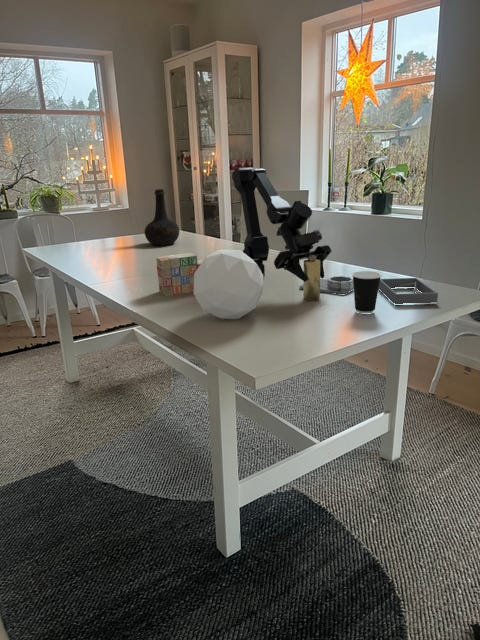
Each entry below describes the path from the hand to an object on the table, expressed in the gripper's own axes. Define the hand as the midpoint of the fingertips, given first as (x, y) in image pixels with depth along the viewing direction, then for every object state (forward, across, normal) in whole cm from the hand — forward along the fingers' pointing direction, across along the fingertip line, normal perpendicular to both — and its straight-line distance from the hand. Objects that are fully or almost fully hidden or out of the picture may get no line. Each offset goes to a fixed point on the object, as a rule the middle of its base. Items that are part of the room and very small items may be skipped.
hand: (314, 279), depth 147 cm
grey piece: (-1, +13, +10) cm, 16 cm away
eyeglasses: (+14, +24, -4) cm, 29 cm away
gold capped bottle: (+4, 0, +6) cm, 7 cm away
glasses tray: (+14, +25, -5) cm, 29 cm away
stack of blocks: (-20, -26, +30) cm, 44 cm away
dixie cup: (+17, +4, -8) cm, 19 cm away
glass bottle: (-85, 0, +94) cm, 127 cm away
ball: (+4, -29, +6) cm, 30 cm away
